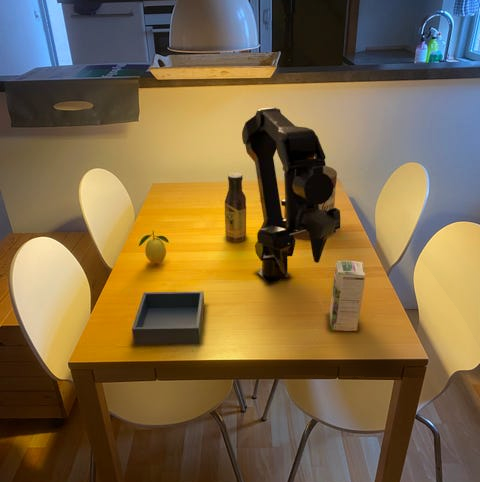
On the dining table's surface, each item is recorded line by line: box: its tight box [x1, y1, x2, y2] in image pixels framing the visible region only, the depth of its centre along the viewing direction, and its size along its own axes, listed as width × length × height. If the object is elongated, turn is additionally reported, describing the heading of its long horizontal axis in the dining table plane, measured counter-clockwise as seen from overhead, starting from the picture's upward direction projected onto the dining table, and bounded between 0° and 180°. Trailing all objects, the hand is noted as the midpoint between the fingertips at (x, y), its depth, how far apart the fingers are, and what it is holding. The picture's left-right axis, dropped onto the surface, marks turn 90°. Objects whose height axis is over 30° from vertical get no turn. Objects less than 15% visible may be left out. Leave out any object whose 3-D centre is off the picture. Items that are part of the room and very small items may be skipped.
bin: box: [131, 291, 205, 346], centre depth 105 cm, size 14×14×4 cm
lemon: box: [138, 230, 170, 264], centre depth 127 cm, size 7×6×10 cm
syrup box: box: [329, 260, 366, 332], centre depth 101 cm, size 6×6×14 cm
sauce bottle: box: [224, 172, 247, 243], centre depth 136 cm, size 7×6×20 cm
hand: (301, 267), depth 102 cm, fingers open, 9 cm apart
